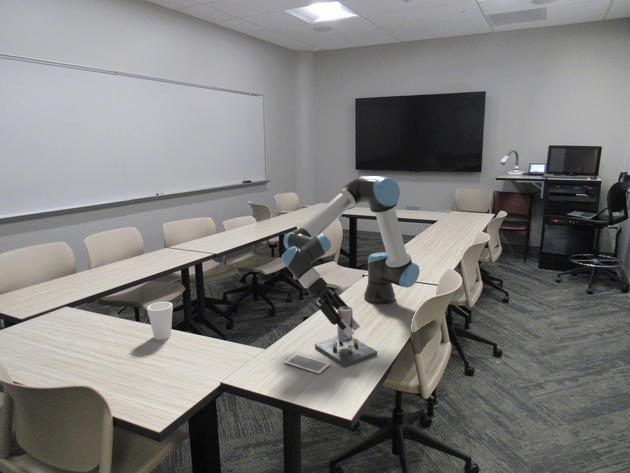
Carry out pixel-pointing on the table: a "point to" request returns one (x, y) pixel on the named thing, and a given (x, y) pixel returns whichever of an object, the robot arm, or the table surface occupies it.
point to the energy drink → (346, 315)
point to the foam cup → (160, 319)
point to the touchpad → (307, 363)
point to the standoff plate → (345, 351)
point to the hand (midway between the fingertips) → (354, 331)
